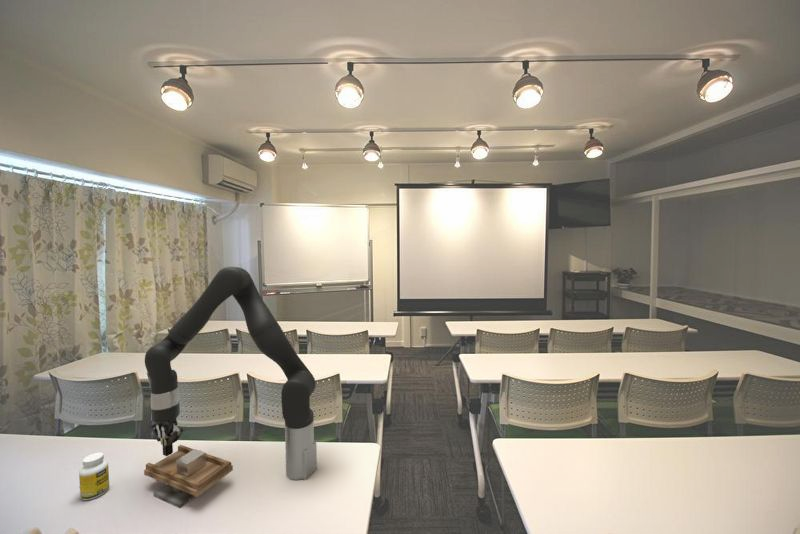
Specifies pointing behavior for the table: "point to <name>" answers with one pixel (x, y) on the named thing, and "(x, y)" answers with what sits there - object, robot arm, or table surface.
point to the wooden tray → (185, 477)
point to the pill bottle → (94, 476)
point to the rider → (191, 462)
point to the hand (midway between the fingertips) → (167, 454)
